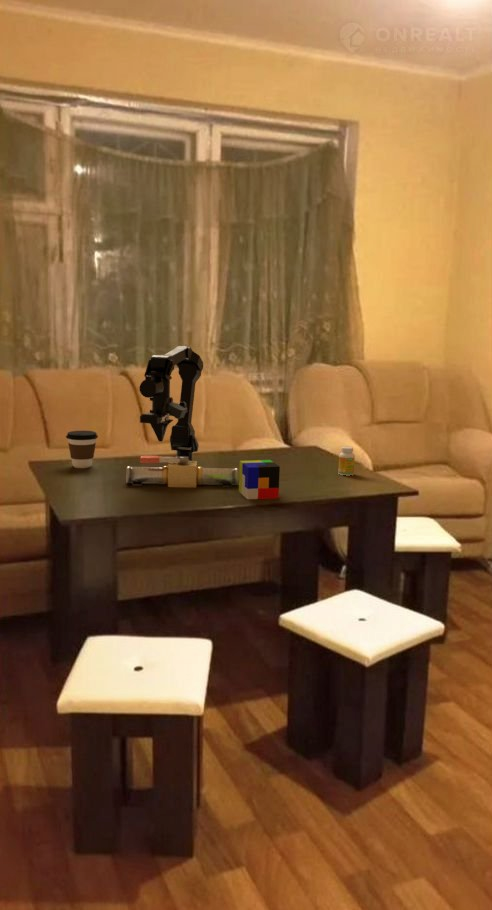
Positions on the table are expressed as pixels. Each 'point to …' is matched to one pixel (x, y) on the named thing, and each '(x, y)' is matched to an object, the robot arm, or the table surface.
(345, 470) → the supplement bottle
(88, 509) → the table surface
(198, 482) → the valve
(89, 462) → the coffee cup
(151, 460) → the lever
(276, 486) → the puzzle toy
